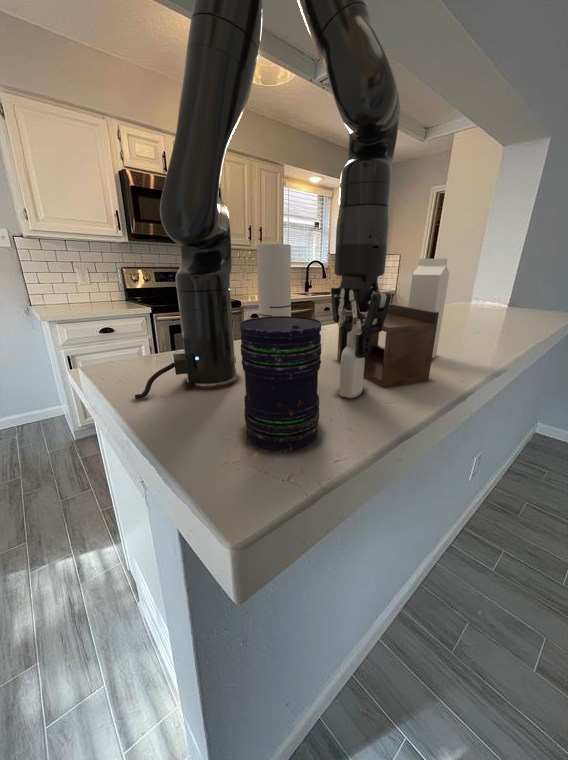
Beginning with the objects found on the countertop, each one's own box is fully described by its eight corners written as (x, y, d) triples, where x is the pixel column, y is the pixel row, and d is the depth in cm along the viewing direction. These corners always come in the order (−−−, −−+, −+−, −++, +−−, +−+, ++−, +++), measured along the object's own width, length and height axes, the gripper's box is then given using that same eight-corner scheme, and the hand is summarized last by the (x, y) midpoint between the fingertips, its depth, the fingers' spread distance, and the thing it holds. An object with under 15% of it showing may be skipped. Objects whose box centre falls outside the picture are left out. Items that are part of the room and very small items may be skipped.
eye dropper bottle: (371, 394, 56) (377, 325, 52) (345, 400, 53) (350, 328, 49) (355, 386, 60) (360, 321, 55) (330, 391, 57) (333, 324, 53)
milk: (427, 361, 73) (443, 258, 66) (401, 356, 77) (413, 258, 69) (436, 356, 78) (452, 258, 70) (411, 351, 81) (424, 258, 74)
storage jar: (232, 428, 45) (224, 321, 40) (289, 410, 50) (289, 313, 45) (271, 463, 37) (268, 335, 32) (334, 437, 42) (340, 324, 37)
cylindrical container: (290, 364, 72) (290, 244, 64) (259, 364, 73) (254, 244, 64) (290, 355, 79) (290, 245, 70) (261, 355, 79) (258, 245, 71)
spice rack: (384, 387, 59) (392, 315, 54) (337, 360, 75) (339, 303, 70) (428, 380, 62) (439, 312, 57) (373, 356, 78) (378, 301, 73)
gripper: (317, 244, 53) (315, 345, 59) (366, 239, 41) (357, 368, 47) (357, 244, 56) (351, 341, 62) (414, 239, 43) (400, 362, 49)
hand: (353, 352), depth 54 cm, fingers closed on eye dropper bottle, 4 cm apart
